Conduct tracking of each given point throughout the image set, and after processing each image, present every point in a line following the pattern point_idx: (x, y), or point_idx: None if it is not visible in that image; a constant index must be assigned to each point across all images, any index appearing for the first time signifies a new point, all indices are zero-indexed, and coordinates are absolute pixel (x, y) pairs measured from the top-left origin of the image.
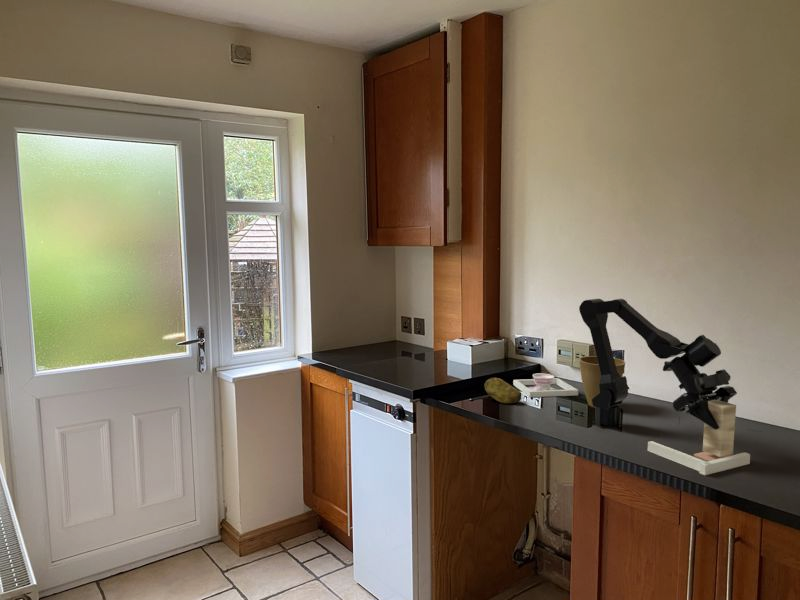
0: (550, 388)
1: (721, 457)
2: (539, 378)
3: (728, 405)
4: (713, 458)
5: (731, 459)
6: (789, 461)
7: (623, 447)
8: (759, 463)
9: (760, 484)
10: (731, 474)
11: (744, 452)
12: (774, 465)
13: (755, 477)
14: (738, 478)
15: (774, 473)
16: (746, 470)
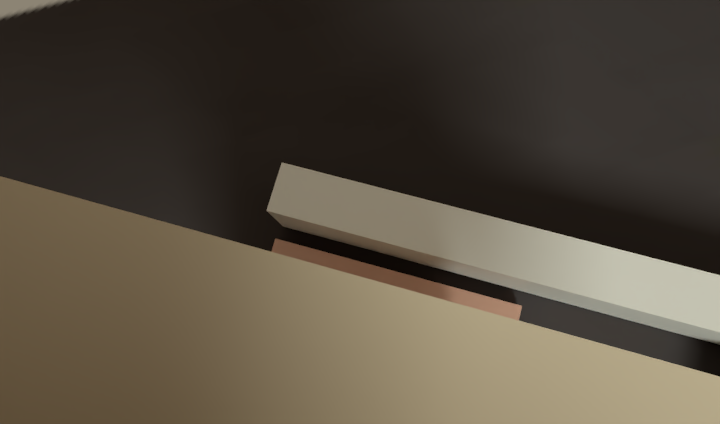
0: None
1: None
2: None
3: (260, 363)
4: None
5: (528, 227)
6: (46, 26)
7: None
8: (234, 142)
9: (640, 9)
10: (623, 196)
11: (271, 210)
12: (200, 63)
13: (540, 70)
14: (658, 136)
15: (361, 16)
16: (453, 154)
